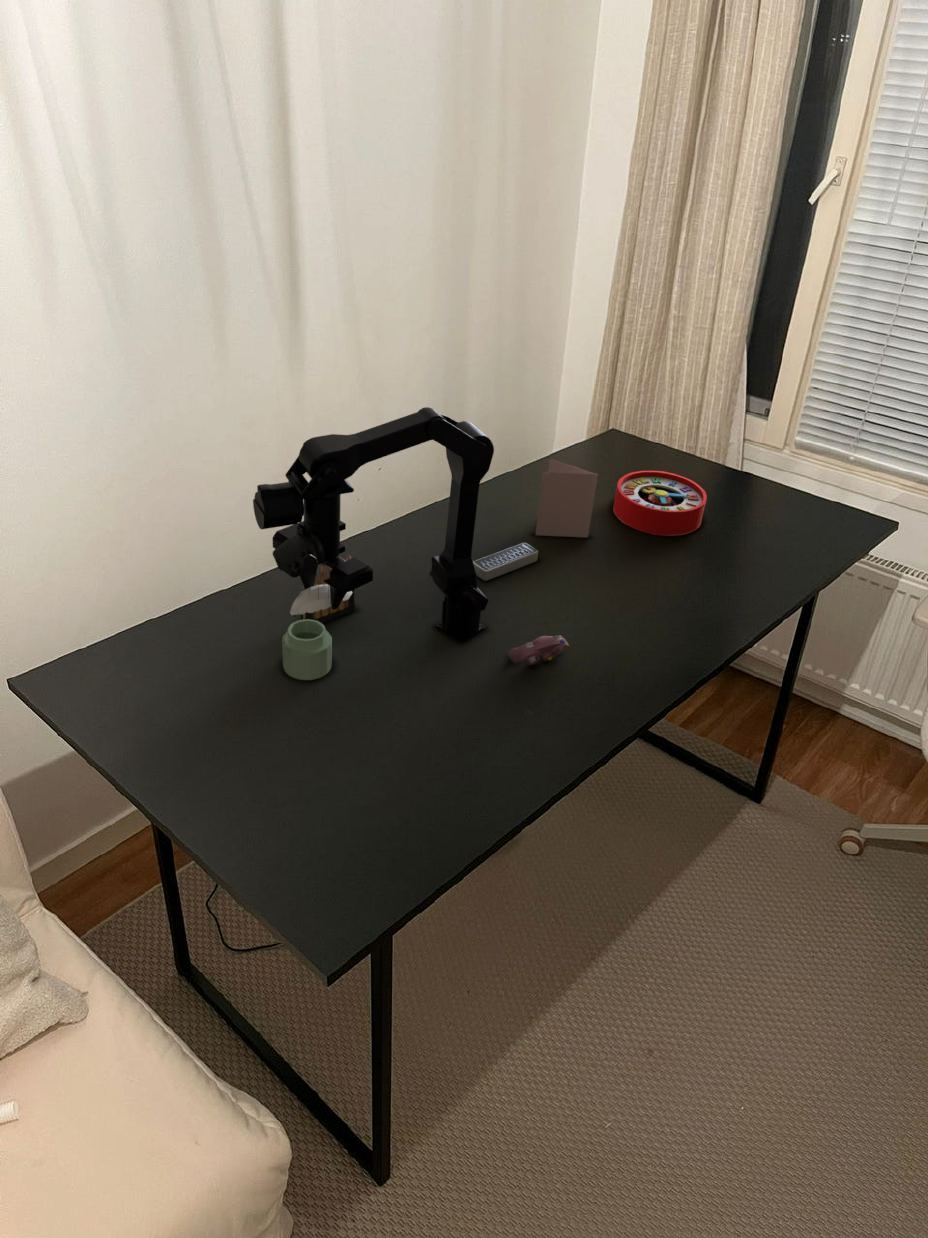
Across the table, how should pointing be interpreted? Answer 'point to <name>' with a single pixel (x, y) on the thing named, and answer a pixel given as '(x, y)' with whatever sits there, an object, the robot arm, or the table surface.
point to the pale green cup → (307, 650)
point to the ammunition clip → (329, 612)
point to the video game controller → (539, 649)
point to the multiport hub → (505, 561)
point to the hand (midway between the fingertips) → (321, 600)
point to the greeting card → (566, 501)
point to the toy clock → (659, 503)
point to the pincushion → (314, 599)
